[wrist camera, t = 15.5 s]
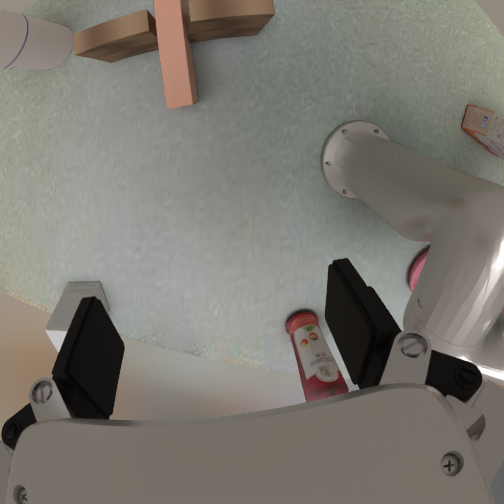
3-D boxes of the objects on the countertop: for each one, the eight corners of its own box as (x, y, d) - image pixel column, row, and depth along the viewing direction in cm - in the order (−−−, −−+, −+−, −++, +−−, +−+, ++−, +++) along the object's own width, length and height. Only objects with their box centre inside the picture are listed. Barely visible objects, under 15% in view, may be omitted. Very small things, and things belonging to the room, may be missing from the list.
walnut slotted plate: (254, 19, 29) (272, -7, 19) (256, 35, 31) (274, 14, 21) (109, 47, 28) (73, 34, 18) (111, 62, 30) (75, 55, 19)
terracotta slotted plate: (165, -20, 24) (150, -55, 14) (183, -23, 24) (175, -60, 14) (180, 104, 35) (167, 109, 25) (198, 101, 35) (192, 104, 25)
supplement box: (67, 281, 46) (43, 328, 36) (100, 281, 47) (80, 331, 37) (79, 311, 50) (60, 358, 39) (111, 311, 51) (95, 361, 40)
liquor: (281, 333, 60) (315, 456, 36) (285, 308, 56) (327, 440, 32) (313, 331, 61) (356, 446, 37) (320, 305, 57) (373, 428, 33)
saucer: (401, 259, 54) (409, 267, 51) (444, 233, 52) (453, 240, 50) (406, 297, 61) (412, 305, 58) (445, 273, 59) (453, 280, 56)
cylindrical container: (78, 54, 28) (-45, 44, 6) (40, 77, 28) (-85, 98, 7) (68, 17, 24) (-45, -14, 3) (31, 42, 24) (-87, 40, 3)
